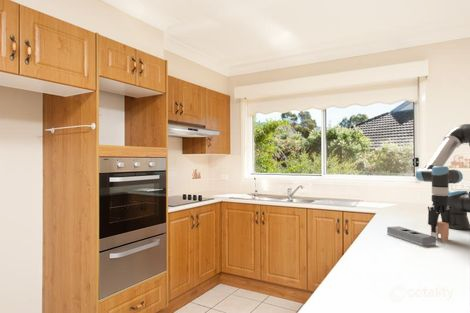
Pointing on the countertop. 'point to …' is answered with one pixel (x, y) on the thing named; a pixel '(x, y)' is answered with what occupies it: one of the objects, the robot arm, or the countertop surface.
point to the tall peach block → (442, 230)
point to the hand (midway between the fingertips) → (439, 238)
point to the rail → (411, 236)
